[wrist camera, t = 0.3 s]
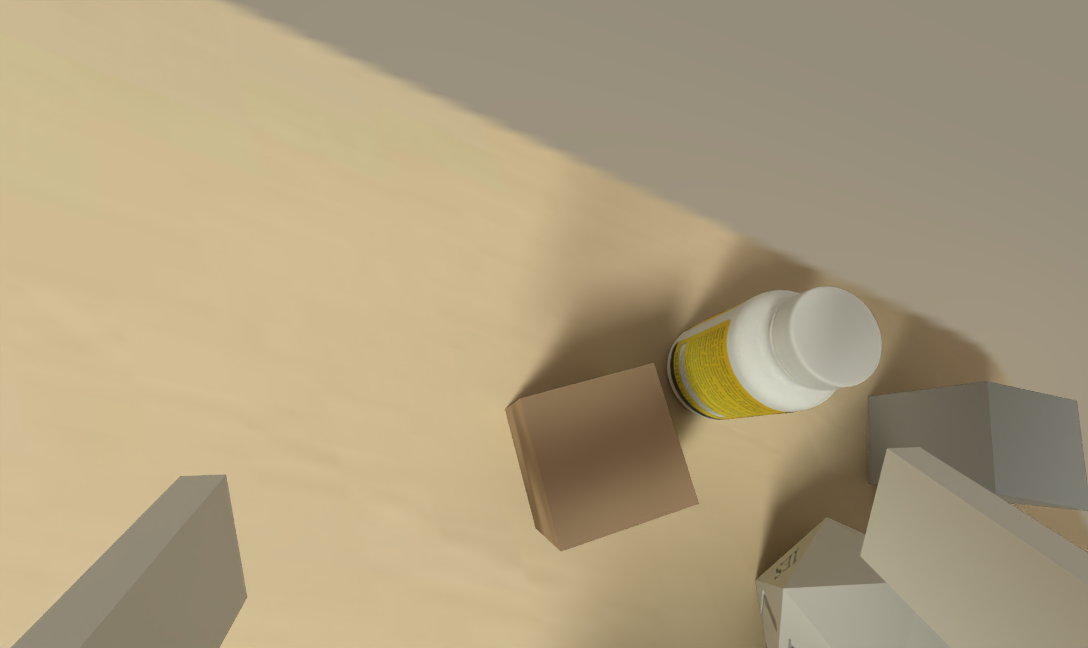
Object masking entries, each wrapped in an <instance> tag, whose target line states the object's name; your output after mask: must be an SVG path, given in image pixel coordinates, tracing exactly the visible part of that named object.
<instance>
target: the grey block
mask: <svg viewBox="0 0 1088 648" xmlns="http://www.w3.org/2000/svg"><path fill="white" fill-rule="evenodd" d="M868 431H869V484H874V485H878V482H879V478H880V474H881V470H882V466H883V462H884V458H885V454H886V450H887V448H909V447H920V448H922V449H923V450H925V451H927V452H928V453H930V454H931V455H933V456H935V457H936V458H938V459H939V460H941V461H942V462H944V463H946V464H947V465H949V466H950V467H952V468H954V469H955V470H957V471H958V472H960V473H962V474H963V475H965V476H966V477H968V478H970V479H971V480H973V481H974V482H976V483H977V484H979V485H981V486H982V487H984V488H985V489H987V490H989V491H990V492H992V493H993V494H995V495H997V496H998V497H1000V498H1001V499H1003V500H1004V501H1006V502H1008V503H1012V504H1022V505H1033V506H1044V507H1054V508H1065V509H1075V510H1086V511H1088V486H1087V477H1086V469H1085V462H1084V453H1083V445H1082V437H1081V429H1080V421H1079V413H1078V405H1077V401H1075V400H1071V399H1066V398H1062V397H1057V396H1052V395H1048V394H1043V393H1039V392H1034V391H1029V390H1025V389H1020V388H1015V387H1011V386H1006V385H1002V384H997V383H992V382H988V381H987V382H979V383H971V384H963V385H956V386H948V387H940V388H932V389H924V390H916V391H908V392H901V393H893V394H885V395H877V396H869V397H868Z"/></svg>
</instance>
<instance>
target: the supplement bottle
mask: <svg viewBox="0 0 1088 648" xmlns="http://www.w3.org/2000/svg"><path fill="white" fill-rule="evenodd" d="M881 352H882V340H881V333H880V330H879V326H878V324H877V322H876V320H875V318H874V316H873V314H872V313H871V311H870V310H869V308H868V307H867V306H866V305H865V304H864V303H863V302H862V301H861V300H860V299H859V298H857V297H856V296H855V295H853V294H852V293H850V292H848V291H846V290H844V289H841V288H837V287H832V286H821V287H816V288H812V289H810V290H807V291H805V292H803V293H797V292H793V291H788V290H773V291H768V292H764V293H761V294H759V295H756V296H754V297H752V298H750V299H748V300H746V301H744V302H742V303H740V304H738V305H736V306H734V307H732V308H730V309H728V310H726V311H724V312H721V313H719V314H717V315H715V316H713V317H711V318H709V319H707V320H705V321H703V322H701V323H699V324H697V325H695V326H693V327H691V328H689V329H687V330H686V331H684V332H683V333H682V334H681V335H680V336H679V337H678V338H677V339H676V340H675V342H674V343H673V345H672V347H671V349H670V352H669V356H668V361H667V373H668V379H669V383H670V385H671V388H672V390H673V392H674V394H675V395H676V397H677V398H678V400H679V401H680V402H681V403H682V404H683V405H684V406H685V407H686V408H687V409H689V410H690V411H692V412H693V413H695V414H697V415H699V416H701V417H704V418H708V419H715V420H722V419H734V418H743V417H752V416H761V415H770V414H780V413H791V412H797V411H802V410H807V409H811V408H813V407H816V406H818V405H820V404H821V403H823V402H825V401H826V400H827V399H828V398H830V397H831V396H832V394H833V393H834V392H835V391H836V390H837V389H839V388H846V387H852V386H855V385H858V384H860V383H862V382H864V381H865V380H867V379H868V378H869V377H870V376H871V375H872V374H873V373H874V371H875V370H876V368H877V366H878V364H879V361H880V357H881Z"/></svg>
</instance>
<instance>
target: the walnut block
mask: <svg viewBox="0 0 1088 648" xmlns="http://www.w3.org/2000/svg"><path fill="white" fill-rule="evenodd" d="M505 411H506V415H507V419H508V423H509V427H510V431H511V434H512V438H513V442H514V446H515V450H516V454H517V458H518V461H519V465H520V469H521V473H522V477H523V481H524V485H525V489H526V492H527V496H528V500H529V504H530V508H531V512H532V516H533V520H534V523H535V527H536V529H537V530H538V531H539V532H540V533H542V534H543V535H544V536H545V537H546V538H547V539H548V540H549V541H550V542H551V543H552V544H553V545H555V546H556V547H557V548H558V549H559V550H560V551H563V550H566V549H569V548H572V547H575V546H578V545H581V544H584V543H587V542H589V541H592V540H595V539H598V538H601V537H604V536H607V535H610V534H612V533H615V532H618V531H621V530H624V529H627V528H630V527H633V526H635V525H638V524H641V523H644V522H647V521H650V520H653V519H656V518H659V517H661V516H664V515H667V514H670V513H673V512H676V511H679V510H682V509H684V508H687V507H690V506H693V505H696V504H699V502H698V499H697V496H696V493H695V490H694V487H693V484H692V480H691V477H690V474H689V471H688V468H687V465H686V462H685V458H684V455H683V452H682V449H681V446H680V443H679V440H678V437H677V433H676V430H675V427H674V424H673V421H672V418H671V415H670V412H669V408H668V405H667V402H666V399H665V396H664V393H663V390H662V386H661V383H660V380H659V377H658V374H657V371H656V368H655V365H654V363H650V364H647V365H643V366H639V367H635V368H632V369H628V370H624V371H620V372H617V373H613V374H609V375H605V376H602V377H598V378H594V379H590V380H587V381H583V382H579V383H575V384H572V385H568V386H564V387H560V388H557V389H553V390H549V391H545V392H542V393H538V394H534V395H530V396H527V397H523V398H520V399H519V400H517V401H516V402H514V403H513V404H512V405H510V406H509V407H507V408H506V409H505Z"/></svg>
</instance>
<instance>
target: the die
mask: <svg viewBox="0 0 1088 648" xmlns="http://www.w3.org/2000/svg"><path fill="white" fill-rule="evenodd" d="M864 538H865V534H864V533H861V532H859V531H857V530H855V529H853V528H850V527H848V526H846V525H844V524H842V523H839V522H837V521H835V520H833V519H830V518H828V517H826V518H825V519H824V520H823V521H821V522H820V523H819V524H818V525H817V526H816V527H815V528H814V529H813V530H811V531H810V532H809V533H808V534H807V535H806V536H805V537H804V538H802V539H801V540H800V541H799V542H798V543H797V544H796V545H795V546H793V547H792V548H791V549H790V550H789V551H788V552H787V553H786V554H784V555H783V556H782V557H781V558H780V559H779V560H778V561H777V562H775V563H774V564H773V565H772V566H771V567H770V568H769V569H768V570H766V571H765V572H764V573H763V574H762V575H761V576H760V577H759V578H757V579H756V580H755V582H756V588H757V594H758V599H759V605H760V611H761V614H762V623H763V629H764V635H765V640H766V646H767V648H950V647H949V646H948V645H947V644H946V643H945V642H944V641H943V640H942V639H941V637H940V636H939V635H938V634H937V633H936V632H935V631H934V630H933V629H932V628H931V627H930V626H929V625H928V624H927V623H926V622H925V621H924V620H923V619H922V618H921V617H920V616H919V615H918V614H917V613H916V612H915V611H914V610H913V609H912V608H911V607H910V606H909V605H908V604H907V603H906V602H905V601H904V600H903V599H902V598H901V597H900V596H899V595H898V594H897V593H896V592H895V591H894V590H893V589H892V588H891V587H890V586H889V585H888V584H887V583H886V582H885V581H884V580H883V579H882V578H881V577H880V576H879V575H878V574H877V573H876V572H875V570H874V569H873V568H872V567H871V566H870V565H869V564H868V563H867V562H866V561H865V560H864V559H863V558H862V557H861V556H860V554H861V550H862V546H863V542H864Z"/></svg>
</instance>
